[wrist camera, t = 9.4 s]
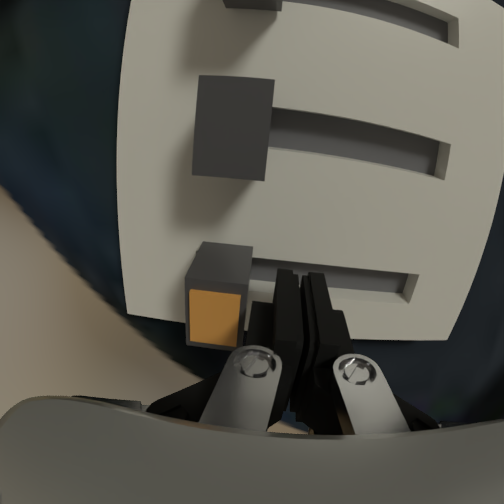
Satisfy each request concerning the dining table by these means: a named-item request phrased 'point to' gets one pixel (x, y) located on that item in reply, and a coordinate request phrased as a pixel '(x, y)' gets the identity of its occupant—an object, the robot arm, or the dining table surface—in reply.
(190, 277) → the breaker
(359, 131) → the breaker board
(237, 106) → the breaker middle
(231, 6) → the block
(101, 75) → the dining table surface
